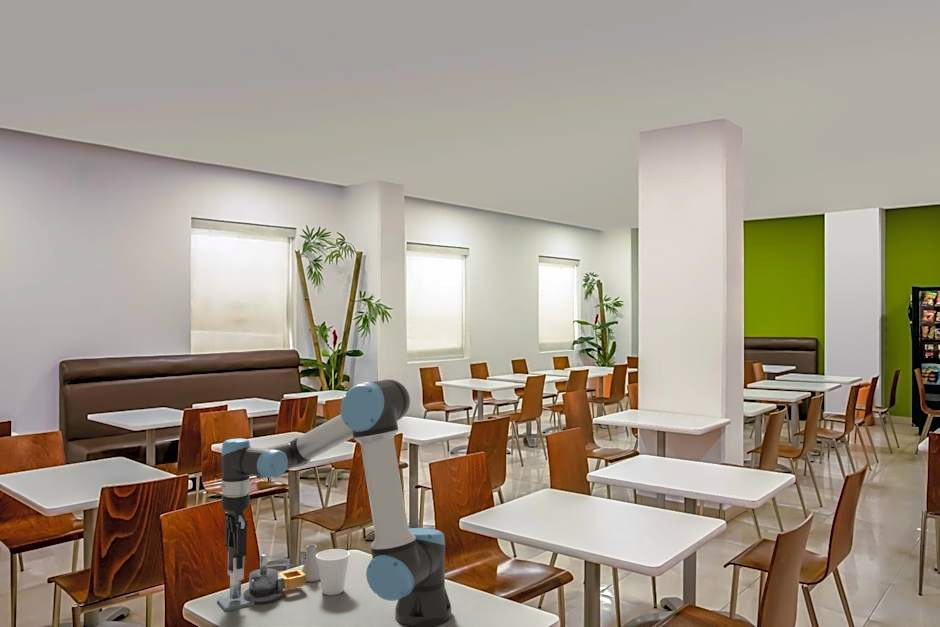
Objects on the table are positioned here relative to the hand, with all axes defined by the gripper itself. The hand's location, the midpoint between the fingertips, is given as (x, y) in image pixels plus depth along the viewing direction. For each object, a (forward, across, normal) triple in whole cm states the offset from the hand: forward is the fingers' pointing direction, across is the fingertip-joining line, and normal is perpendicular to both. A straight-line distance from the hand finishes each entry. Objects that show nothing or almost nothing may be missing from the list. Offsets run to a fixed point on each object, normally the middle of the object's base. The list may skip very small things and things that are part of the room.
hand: (235, 576), depth 199 cm
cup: (+8, +8, +26) cm, 28 cm away
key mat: (+7, 0, 0) cm, 7 cm away
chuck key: (+6, 0, 0) cm, 6 cm away
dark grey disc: (+7, 0, +8) cm, 11 cm away
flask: (+8, -6, +25) cm, 27 cm away
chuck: (+6, 0, +12) cm, 13 cm away
